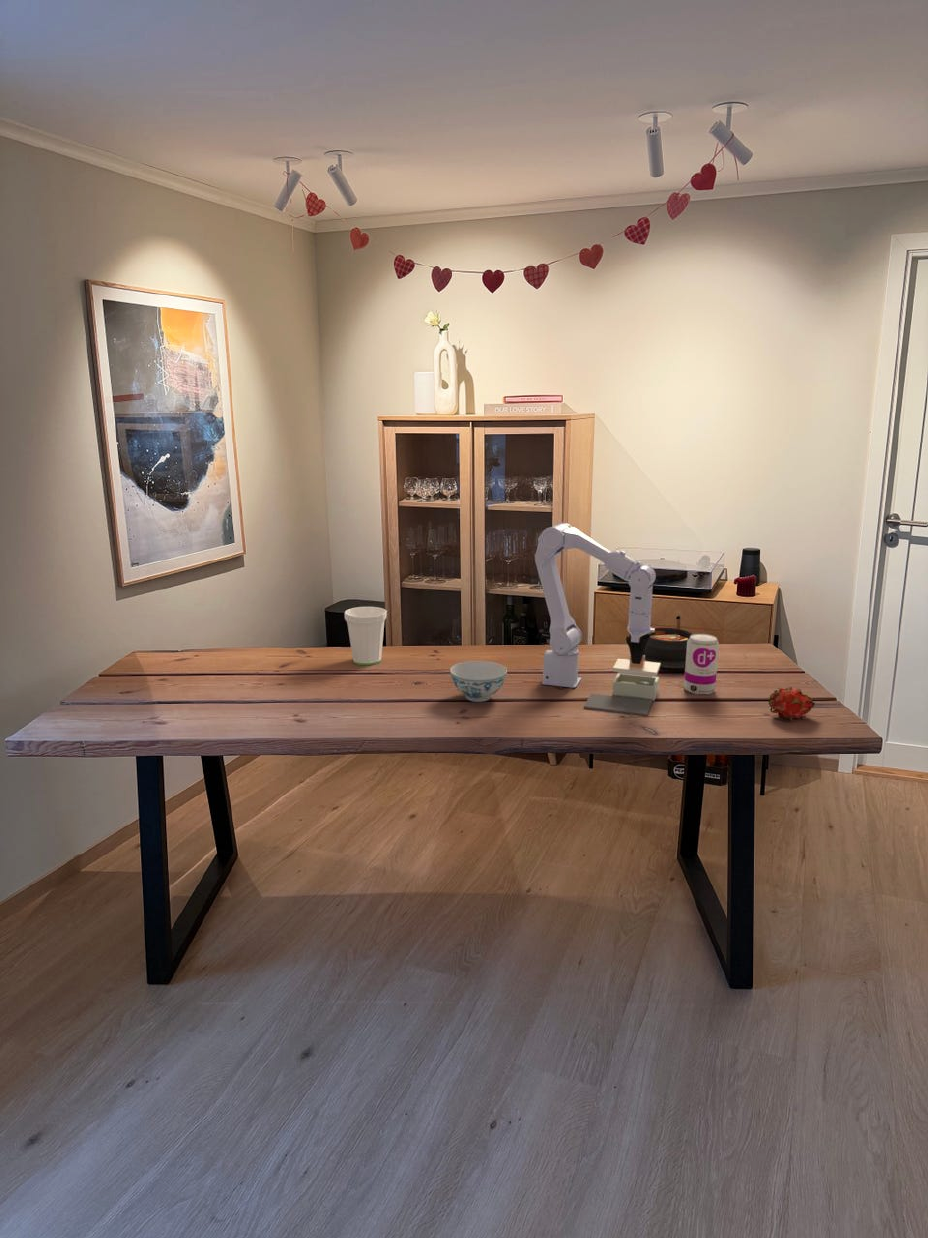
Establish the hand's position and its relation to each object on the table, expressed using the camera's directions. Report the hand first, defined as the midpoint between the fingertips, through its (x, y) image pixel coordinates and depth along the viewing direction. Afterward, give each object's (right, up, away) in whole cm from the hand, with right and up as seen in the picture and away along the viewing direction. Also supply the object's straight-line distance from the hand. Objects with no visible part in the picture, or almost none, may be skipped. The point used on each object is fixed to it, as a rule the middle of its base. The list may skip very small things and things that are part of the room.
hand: (637, 661), depth 229 cm
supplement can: (+18, -8, +5) cm, 20 cm away
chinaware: (-42, -10, 0) cm, 43 cm away
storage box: (0, -9, +2) cm, 9 cm away
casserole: (+15, -2, +30) cm, 34 cm away
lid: (0, -3, +1) cm, 3 cm away
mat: (-6, -11, -6) cm, 14 cm away
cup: (-75, -2, +29) cm, 81 cm away
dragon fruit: (+36, -14, -13) cm, 40 cm away
